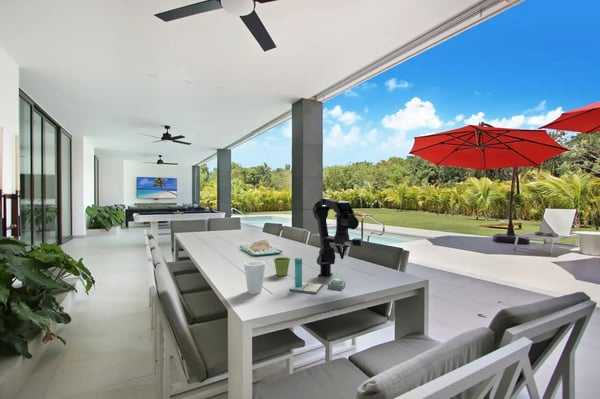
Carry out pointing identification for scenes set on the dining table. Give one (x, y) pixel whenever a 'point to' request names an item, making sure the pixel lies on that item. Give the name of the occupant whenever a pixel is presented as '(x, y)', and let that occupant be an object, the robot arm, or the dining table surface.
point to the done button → (336, 281)
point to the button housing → (336, 285)
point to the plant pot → (281, 265)
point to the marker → (298, 272)
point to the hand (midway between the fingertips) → (342, 258)
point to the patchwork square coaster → (307, 288)
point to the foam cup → (254, 276)
